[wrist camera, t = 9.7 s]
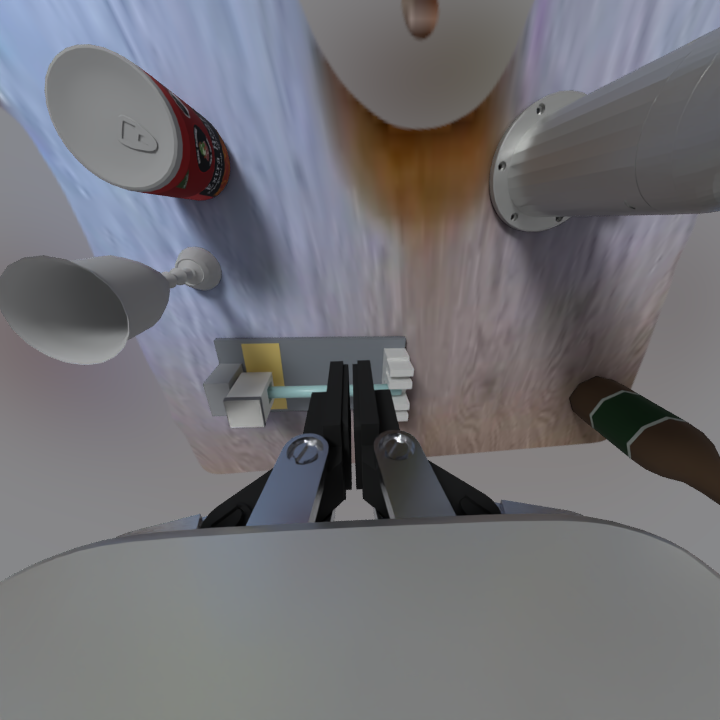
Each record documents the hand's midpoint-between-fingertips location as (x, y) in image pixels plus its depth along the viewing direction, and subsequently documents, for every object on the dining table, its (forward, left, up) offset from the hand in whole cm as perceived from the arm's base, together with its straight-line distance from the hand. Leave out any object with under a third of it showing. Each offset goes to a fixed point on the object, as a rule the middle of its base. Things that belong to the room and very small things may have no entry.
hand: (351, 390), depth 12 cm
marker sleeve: (+12, +14, -23) cm, 29 cm away
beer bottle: (-42, +19, -26) cm, 53 cm away
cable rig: (+4, +14, -26) cm, 30 cm away
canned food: (+15, -12, -26) cm, 32 cm away
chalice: (+17, -1, -26) cm, 31 cm away
